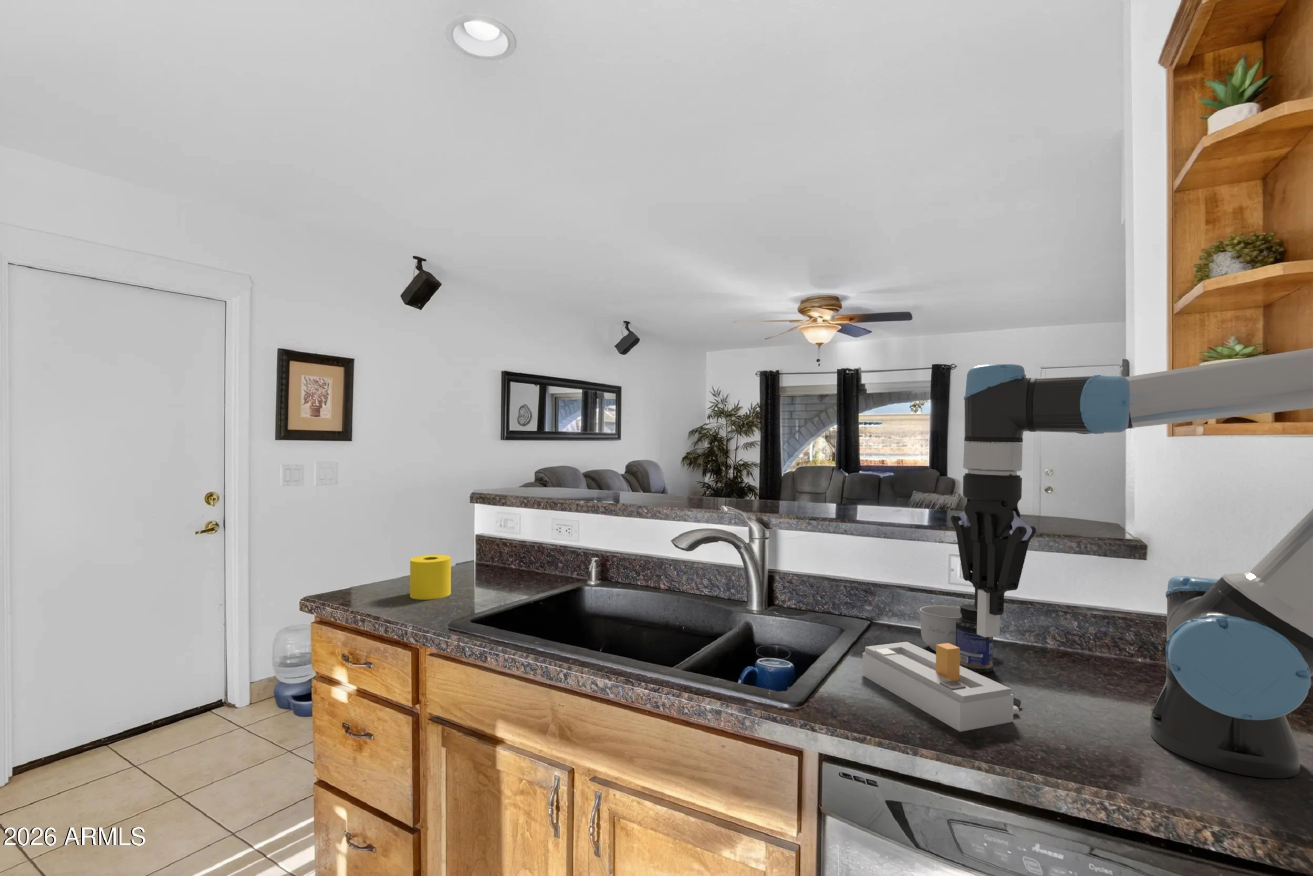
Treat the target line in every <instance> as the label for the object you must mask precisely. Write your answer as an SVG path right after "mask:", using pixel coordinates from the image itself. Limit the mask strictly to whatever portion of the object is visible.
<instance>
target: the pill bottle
mask: <svg viewBox="0 0 1313 876" xmlns="http://www.w3.org/2000/svg"><path fill="white" fill-rule="evenodd" d="M960 613H961V614H962V617H961V618H959V619H957V621H956V646H957V647H959V648H960V666H962V667H964V668H966V669H969V670H971V671H973V672H975V673H977V674H979V673H980V674H982V673H983V674H986V673H987V674H988V673H991V672H992V671H993V669H994V636H992V637H983V636H980V635H978V634H977V609H975V605H974V604H969V603H965V604H961V605H960Z"/></svg>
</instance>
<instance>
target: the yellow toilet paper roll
mask: <svg viewBox="0 0 1313 876" xmlns="http://www.w3.org/2000/svg"><path fill="white" fill-rule="evenodd" d="M451 581H452V557H451V556H450V555H448V554H425V555H418V556H415V557H411V558H410V559H409V597H410V598H411V599H414V600H423V601H424V600H436V599H442V598H446V597H448V596H450V595H451V594H452V590H451V589H452V587H451V586H452V582H451Z"/></svg>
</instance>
